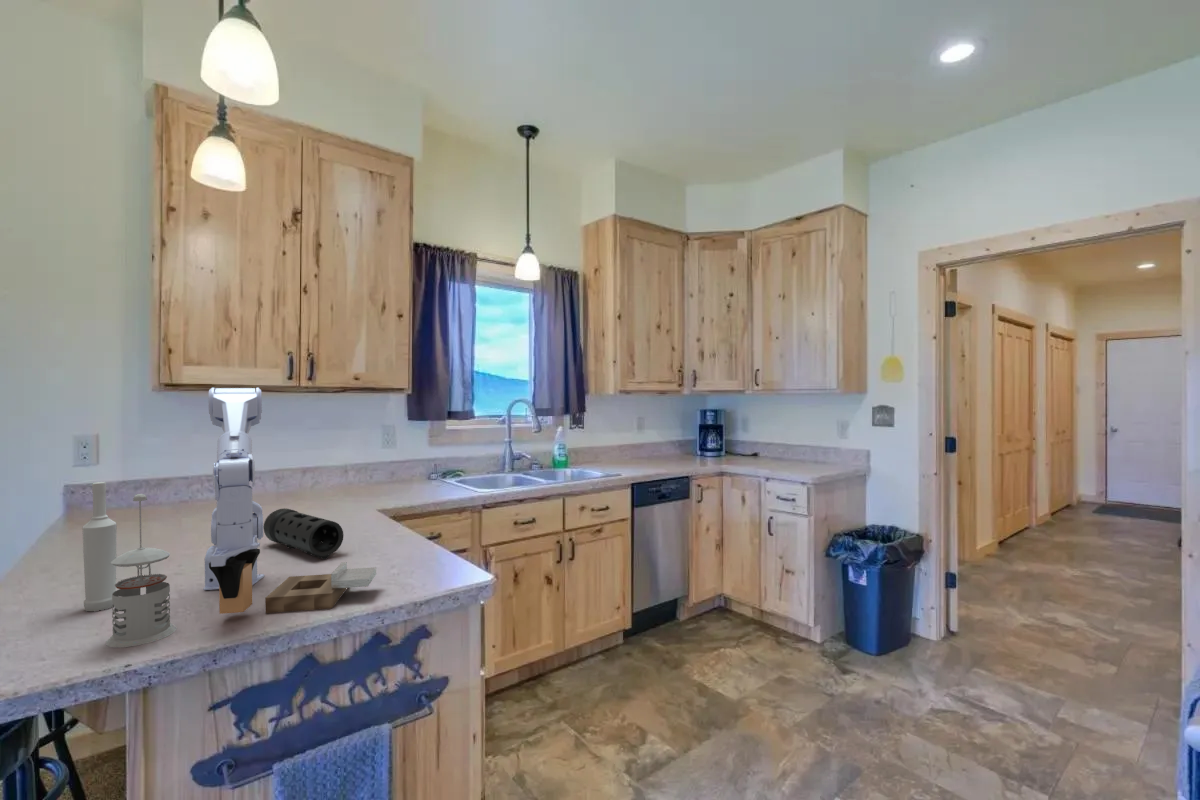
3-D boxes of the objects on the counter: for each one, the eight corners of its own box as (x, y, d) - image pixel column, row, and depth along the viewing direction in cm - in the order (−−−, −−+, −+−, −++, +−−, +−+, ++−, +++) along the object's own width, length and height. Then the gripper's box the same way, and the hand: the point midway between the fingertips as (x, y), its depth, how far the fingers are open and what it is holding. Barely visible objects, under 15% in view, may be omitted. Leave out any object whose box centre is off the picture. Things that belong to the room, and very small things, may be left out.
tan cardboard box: (219, 613, 104) (218, 570, 104) (229, 605, 108) (229, 564, 108) (243, 612, 105) (242, 569, 105) (252, 604, 109) (251, 563, 109)
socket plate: (265, 613, 109) (265, 597, 109) (289, 590, 121) (289, 576, 121) (331, 608, 111) (331, 593, 111) (348, 586, 124) (348, 572, 124)
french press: (101, 652, 92) (99, 501, 92) (110, 629, 102) (107, 491, 102) (176, 637, 98) (174, 494, 98) (177, 616, 108) (175, 486, 107)
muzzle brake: (308, 564, 141) (307, 523, 141) (260, 547, 158) (259, 510, 158) (345, 556, 148) (344, 516, 148) (295, 540, 165) (295, 504, 165)
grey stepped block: (331, 588, 113) (331, 573, 113) (341, 576, 121) (341, 562, 121) (368, 586, 115) (368, 571, 115) (376, 574, 122) (376, 560, 122)
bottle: (115, 600, 116) (113, 480, 116) (120, 606, 113) (118, 482, 113) (81, 608, 112) (79, 483, 112) (86, 614, 109) (84, 485, 109)
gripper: (241, 529, 100) (242, 605, 100) (272, 512, 114) (273, 579, 114) (197, 531, 99) (198, 608, 99) (234, 514, 113) (235, 581, 113)
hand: (236, 593), depth 106 cm, fingers closed on tan cardboard box, 4 cm apart
